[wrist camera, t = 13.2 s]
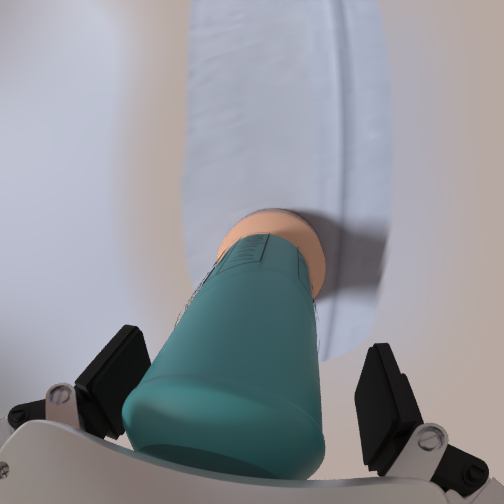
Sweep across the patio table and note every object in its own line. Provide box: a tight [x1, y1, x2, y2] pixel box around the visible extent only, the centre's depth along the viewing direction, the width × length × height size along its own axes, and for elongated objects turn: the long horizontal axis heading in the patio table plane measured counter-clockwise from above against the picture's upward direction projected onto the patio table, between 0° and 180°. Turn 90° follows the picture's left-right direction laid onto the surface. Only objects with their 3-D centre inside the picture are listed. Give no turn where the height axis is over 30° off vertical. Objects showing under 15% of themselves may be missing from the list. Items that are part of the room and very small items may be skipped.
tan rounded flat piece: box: [217, 208, 326, 299], centre depth 22 cm, size 8×8×3 cm
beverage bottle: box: [122, 232, 325, 480], centre depth 12 cm, size 6×7×20 cm
